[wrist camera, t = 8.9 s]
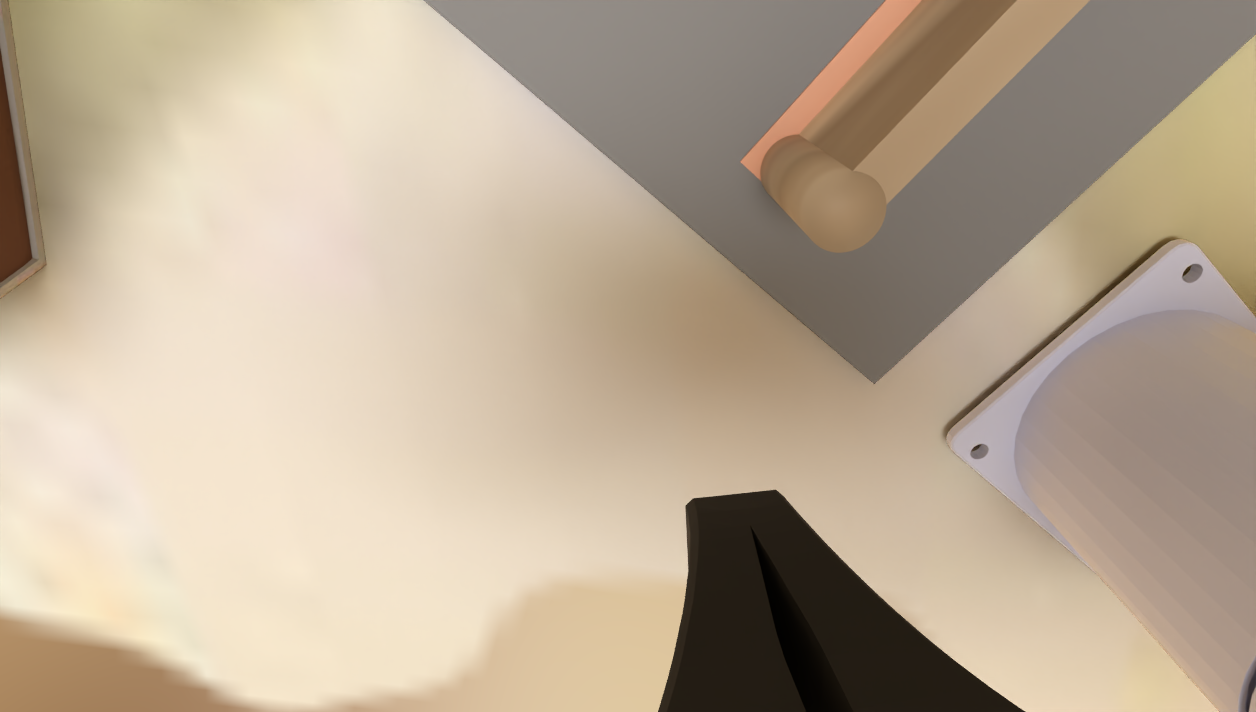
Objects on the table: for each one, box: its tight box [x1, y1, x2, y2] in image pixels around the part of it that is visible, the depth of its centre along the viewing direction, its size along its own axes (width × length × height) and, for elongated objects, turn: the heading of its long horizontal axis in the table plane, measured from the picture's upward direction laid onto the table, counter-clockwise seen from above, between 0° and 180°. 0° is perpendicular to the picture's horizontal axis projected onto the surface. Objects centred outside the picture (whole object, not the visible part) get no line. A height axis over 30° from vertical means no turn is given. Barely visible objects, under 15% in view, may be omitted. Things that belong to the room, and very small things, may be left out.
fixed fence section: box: [760, 0, 1090, 253], centre depth 15 cm, size 2×11×4 cm, turn 139°
